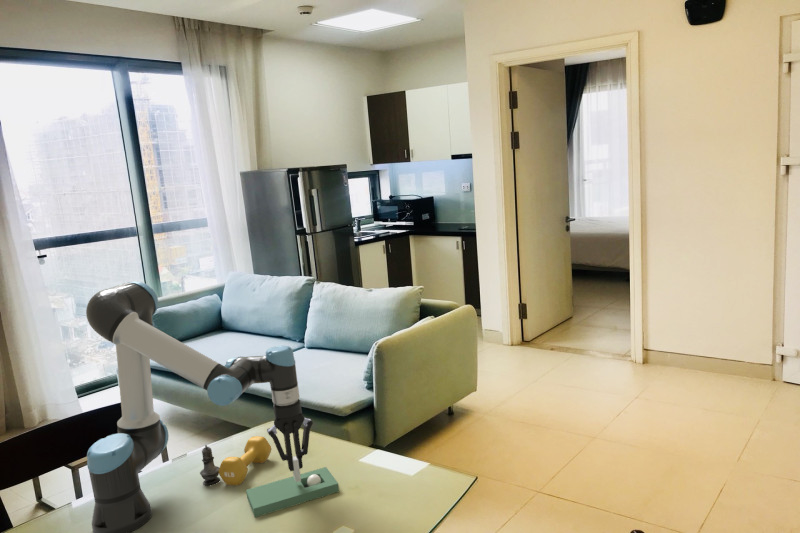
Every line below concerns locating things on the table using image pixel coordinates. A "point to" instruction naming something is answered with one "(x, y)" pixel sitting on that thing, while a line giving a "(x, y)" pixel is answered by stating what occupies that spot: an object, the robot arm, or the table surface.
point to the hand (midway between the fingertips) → (297, 479)
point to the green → (290, 492)
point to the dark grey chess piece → (209, 468)
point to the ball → (313, 480)
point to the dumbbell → (244, 460)
